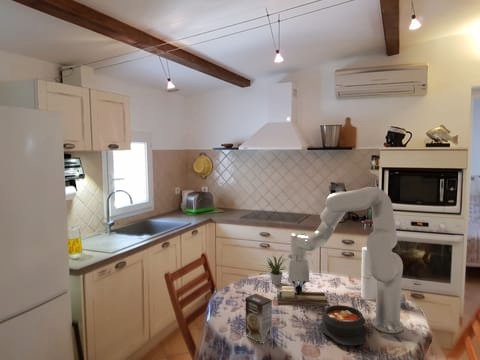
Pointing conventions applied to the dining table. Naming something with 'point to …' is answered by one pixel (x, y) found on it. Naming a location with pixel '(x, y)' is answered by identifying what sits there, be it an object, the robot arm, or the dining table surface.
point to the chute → (303, 298)
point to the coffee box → (259, 317)
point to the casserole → (344, 325)
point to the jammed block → (288, 292)
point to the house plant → (276, 270)
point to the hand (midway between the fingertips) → (298, 293)
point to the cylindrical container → (367, 278)
